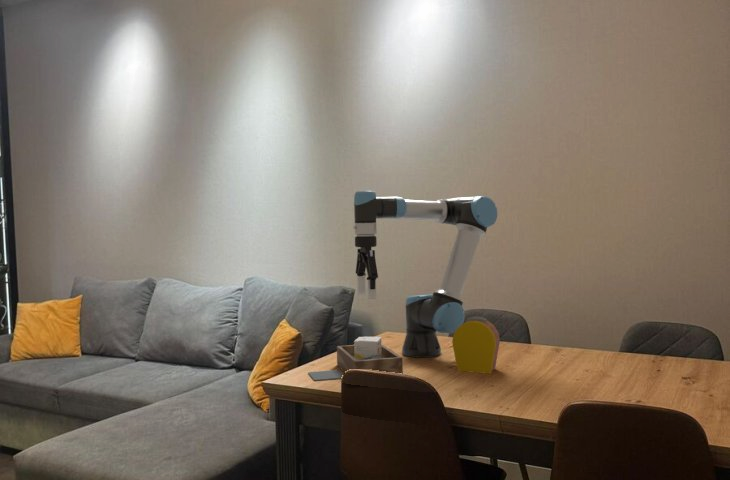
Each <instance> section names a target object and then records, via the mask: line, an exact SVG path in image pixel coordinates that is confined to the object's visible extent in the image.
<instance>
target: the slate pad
mask: <svg viewBox="0 0 730 480" xmlns="http://www.w3.org/2000/svg"><path fill="white" fill-rule="evenodd" d="M307 373H308V375H309V376H310V378H311V379H312V380H313V381H314V382H321V381H331V380H332V381H333V380H342V379H341V377H342V375H343V374H344V373H343V372H342V371H341V369H333V370H319V371H310V372H307Z"/></svg>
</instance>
